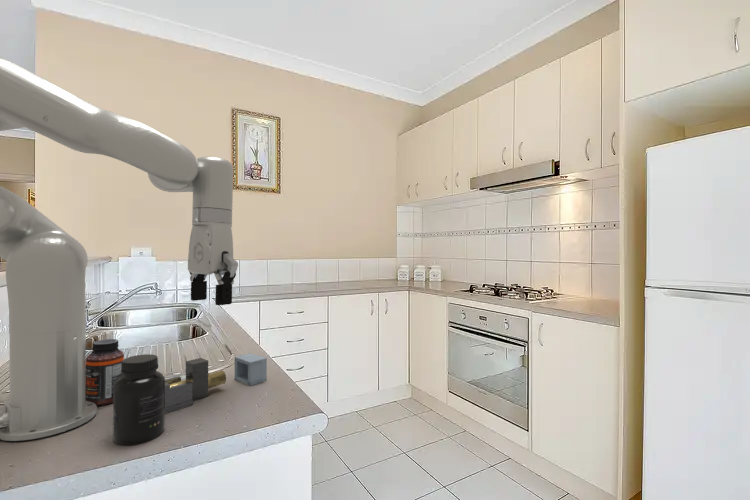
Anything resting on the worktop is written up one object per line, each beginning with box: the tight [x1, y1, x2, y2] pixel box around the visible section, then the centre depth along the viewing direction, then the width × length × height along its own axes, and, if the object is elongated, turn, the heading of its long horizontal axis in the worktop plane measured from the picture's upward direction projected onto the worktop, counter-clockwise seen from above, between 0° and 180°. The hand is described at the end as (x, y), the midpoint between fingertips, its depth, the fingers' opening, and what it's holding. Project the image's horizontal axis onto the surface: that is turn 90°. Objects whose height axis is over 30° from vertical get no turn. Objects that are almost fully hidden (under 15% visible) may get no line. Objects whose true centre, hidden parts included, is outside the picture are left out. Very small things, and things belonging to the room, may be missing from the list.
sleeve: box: [165, 375, 194, 414], centre depth 67 cm, size 10×6×5 cm, turn 141°
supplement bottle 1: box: [86, 338, 125, 407], centre depth 71 cm, size 6×6×11 cm
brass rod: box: [170, 357, 227, 402], centre depth 71 cm, size 16×3×7 cm, turn 141°
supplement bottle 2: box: [112, 353, 166, 446], centre depth 58 cm, size 7×7×12 cm
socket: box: [234, 352, 268, 387], centre depth 82 cm, size 4×6×5 cm, turn 51°
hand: (210, 302), depth 76 cm, fingers open, 9 cm apart
